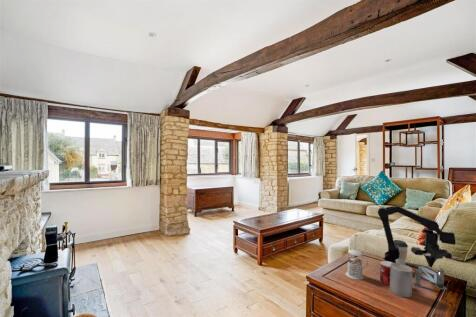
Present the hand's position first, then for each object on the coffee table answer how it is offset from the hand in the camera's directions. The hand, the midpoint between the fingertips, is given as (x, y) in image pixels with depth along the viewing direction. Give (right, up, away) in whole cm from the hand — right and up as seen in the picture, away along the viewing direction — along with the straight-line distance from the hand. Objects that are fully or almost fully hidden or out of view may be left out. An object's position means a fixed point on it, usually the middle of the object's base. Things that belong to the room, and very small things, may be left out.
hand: (430, 267), depth 139 cm
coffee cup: (-4, -7, +21) cm, 22 cm away
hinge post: (-2, -7, -10) cm, 12 cm away
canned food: (-30, -6, -6) cm, 31 cm away
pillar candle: (-29, -6, -16) cm, 34 cm away
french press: (-44, -6, +1) cm, 44 cm away
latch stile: (-14, -7, -8) cm, 18 cm away
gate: (-4, -6, -3) cm, 8 cm away
